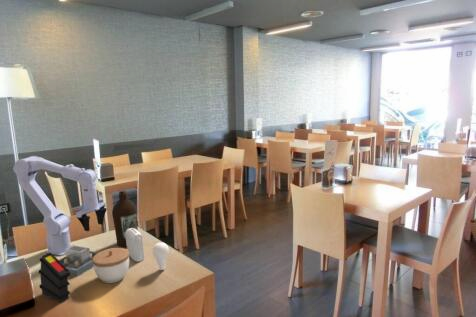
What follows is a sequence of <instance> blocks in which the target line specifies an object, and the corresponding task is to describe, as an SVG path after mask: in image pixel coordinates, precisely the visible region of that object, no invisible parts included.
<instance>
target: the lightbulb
mask: <svg viewBox="0 0 476 317" xmlns="http://www.w3.org/2000/svg"><path fill="white" fill-rule="evenodd" d="M169 252H170V249H169V246H168V244H166V243H165V242H157V243H156V244H155V245H154V246H153V247H152V255H153V257H154V258H155V260H156V262H157V266H158V270H160V271H163V270H165V269H166V263H167V257H168V255H169Z"/></svg>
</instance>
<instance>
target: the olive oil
mask: <svg viewBox="0 0 476 317" xmlns="http://www.w3.org/2000/svg"><path fill="white" fill-rule="evenodd" d="M118 197H119V198H118V200H117V202H116V203H115V204H114V206H113V207H112V209H111V210H112V213H111V215H112V220H113V227H114V232H115V238H116V246H118V247H119V248H127V244H126V235H125V232H126V230H127V229H130V228H134V229H136V230H137V231H139V230H138V227H139V226H138V209H137V207H136V204H135V203H134V202H133V201H131V200H130V199H129V198H128V193H127V190H126V189H121V190H119V191H118Z"/></svg>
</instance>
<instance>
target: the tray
mask: <svg viewBox="0 0 476 317" xmlns="http://www.w3.org/2000/svg"><path fill="white" fill-rule="evenodd" d="M97 253H98V252H96V251H91V250H90V257H91V261H90V262H88V263H86V264H85V265H83V266H79V264H78V261H76V262H75V265H73V264H69V263H68V261H67V259H66V256H64V257H62V258H60V259H58V260H59V261H60V262H61V263H62V264H63V265H64V266H65V267H66V268H67V269H68V270H69V273H70V274H71V276H72V277H73V276H75V277H79V276H81V275H82V274H84V273H86V272H87V271H89V270H90V269H92V268H94V265H93V257H94V256H95V255H96V254H97Z"/></svg>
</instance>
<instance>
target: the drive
mask: <svg viewBox="0 0 476 317" xmlns="http://www.w3.org/2000/svg"><path fill="white" fill-rule="evenodd" d="M90 251H91V250H90V247H85V246H79V245H74V244H71V246H70V247H68V248H66V249H65V254H64V255H65V257H66V259H67V261H68V263H69V264H73V265H75V262H76V261H78V264H79V266H83V265H85V264H86V263H88V262H90V261H91V257H90Z"/></svg>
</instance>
